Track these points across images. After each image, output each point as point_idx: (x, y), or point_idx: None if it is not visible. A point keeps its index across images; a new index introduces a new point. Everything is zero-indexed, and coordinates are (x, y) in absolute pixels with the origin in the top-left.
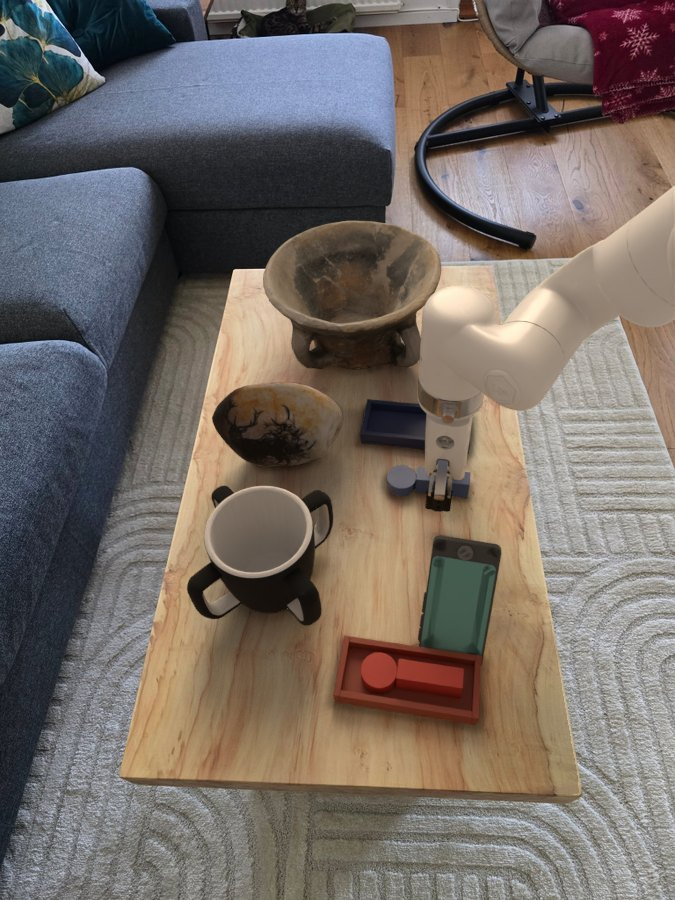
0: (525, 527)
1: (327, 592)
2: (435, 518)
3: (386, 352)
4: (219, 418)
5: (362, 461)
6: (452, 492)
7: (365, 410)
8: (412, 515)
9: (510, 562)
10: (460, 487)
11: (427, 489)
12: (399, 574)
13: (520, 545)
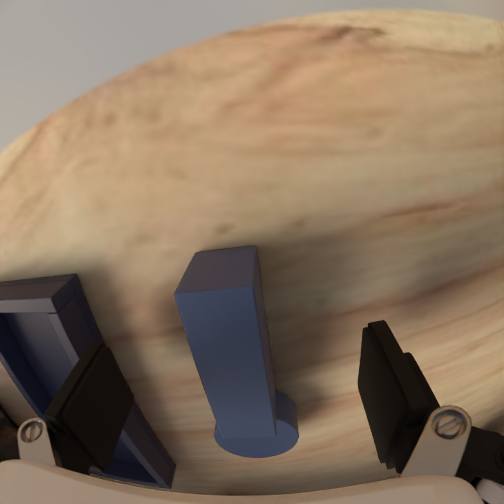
0: (330, 21)
1: (490, 413)
2: (358, 322)
3: (2, 441)
4: None
5: (218, 462)
6: (420, 407)
7: (114, 478)
8: (352, 373)
9: (467, 78)
10: (259, 308)
11: (394, 465)
12: (493, 344)
13: (407, 40)
